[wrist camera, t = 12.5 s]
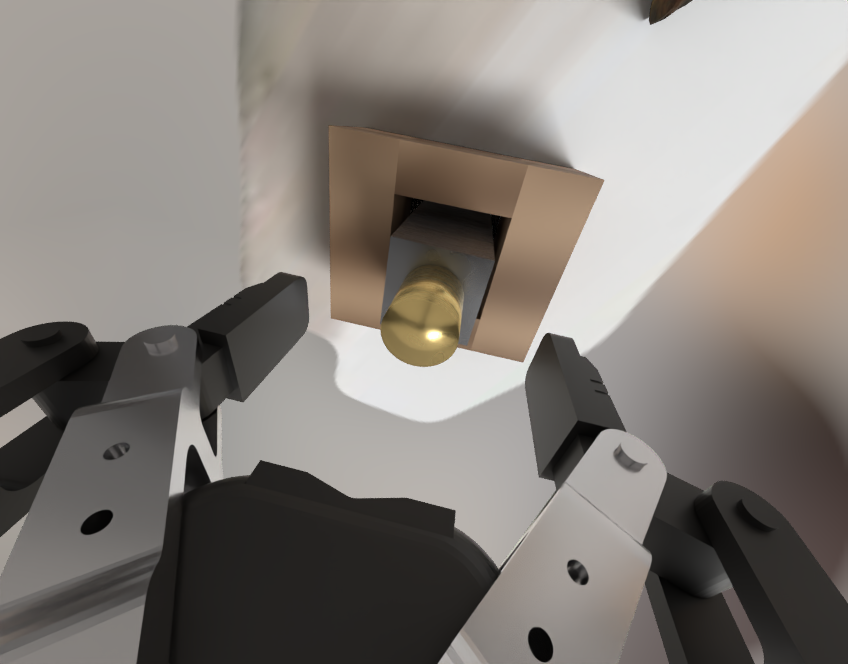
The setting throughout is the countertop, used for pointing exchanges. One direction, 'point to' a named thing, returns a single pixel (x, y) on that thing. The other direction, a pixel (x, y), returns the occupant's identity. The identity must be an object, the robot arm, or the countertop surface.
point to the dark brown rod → (664, 9)
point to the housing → (461, 187)
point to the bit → (435, 282)
